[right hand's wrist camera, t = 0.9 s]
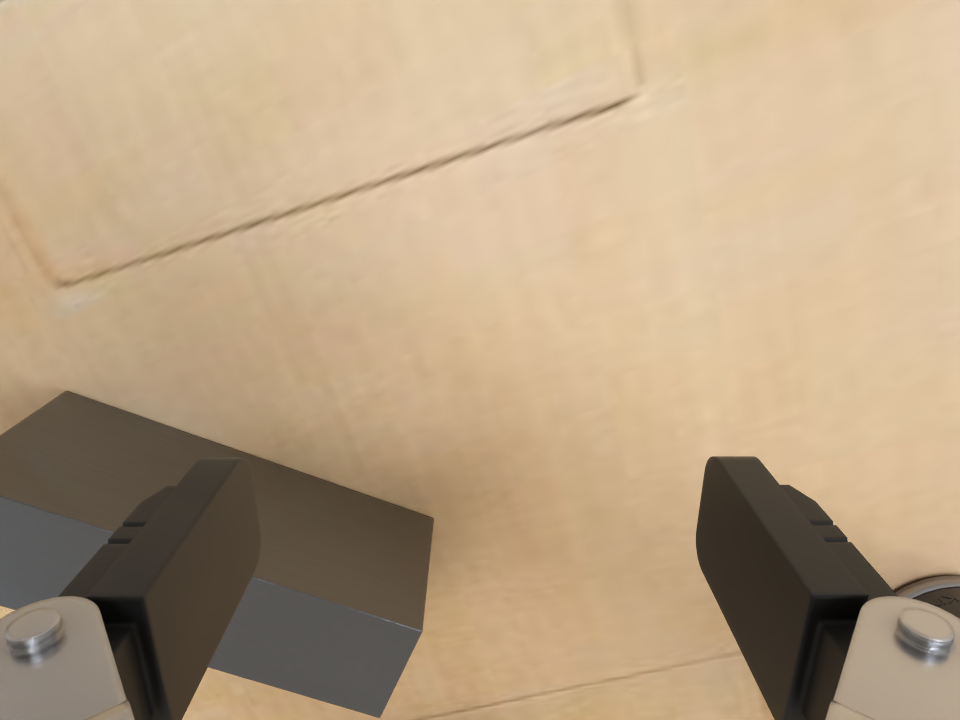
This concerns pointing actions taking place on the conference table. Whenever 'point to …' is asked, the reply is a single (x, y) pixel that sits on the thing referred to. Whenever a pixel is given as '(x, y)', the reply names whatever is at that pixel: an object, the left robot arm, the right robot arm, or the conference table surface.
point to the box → (282, 561)
